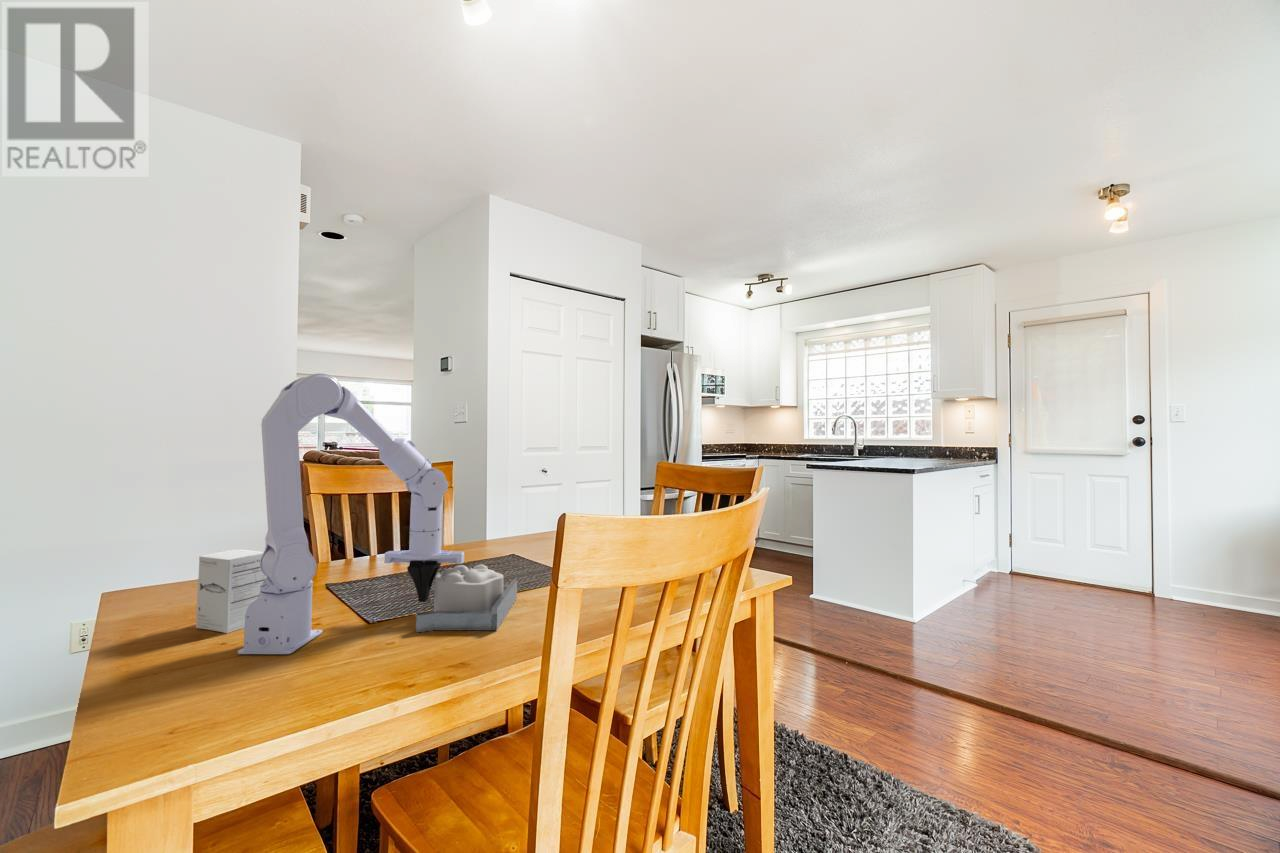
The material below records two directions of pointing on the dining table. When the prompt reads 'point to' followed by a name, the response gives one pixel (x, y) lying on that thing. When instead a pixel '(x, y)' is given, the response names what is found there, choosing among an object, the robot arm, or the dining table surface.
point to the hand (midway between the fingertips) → (423, 600)
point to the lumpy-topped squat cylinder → (467, 589)
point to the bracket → (469, 615)
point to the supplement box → (227, 588)
